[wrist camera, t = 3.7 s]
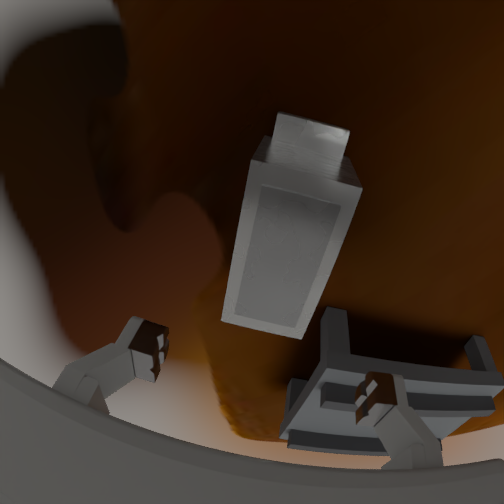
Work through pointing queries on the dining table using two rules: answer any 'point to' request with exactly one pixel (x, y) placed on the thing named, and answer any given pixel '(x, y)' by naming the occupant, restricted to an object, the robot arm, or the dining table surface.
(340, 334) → the stand
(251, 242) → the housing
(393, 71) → the dining table surface
